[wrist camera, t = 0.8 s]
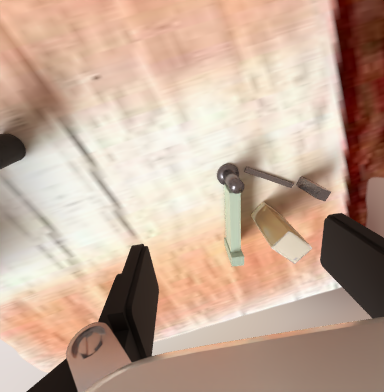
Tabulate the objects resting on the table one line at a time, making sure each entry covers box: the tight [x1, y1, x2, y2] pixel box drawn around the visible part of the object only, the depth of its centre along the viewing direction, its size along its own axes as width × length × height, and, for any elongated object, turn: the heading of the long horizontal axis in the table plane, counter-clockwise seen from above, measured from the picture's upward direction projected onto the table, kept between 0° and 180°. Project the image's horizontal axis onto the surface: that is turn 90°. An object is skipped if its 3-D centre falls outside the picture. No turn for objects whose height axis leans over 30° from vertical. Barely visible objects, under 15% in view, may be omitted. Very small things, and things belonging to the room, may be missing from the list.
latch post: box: [244, 167, 331, 201], centre depth 40 cm, size 3×14×7 cm, turn 70°
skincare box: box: [251, 202, 312, 264], centre depth 41 cm, size 6×4×12 cm
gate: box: [224, 184, 244, 266], centre depth 42 cm, size 16×2×7 cm, turn 5°
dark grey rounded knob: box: [217, 164, 244, 194], centre depth 39 cm, size 4×4×8 cm
